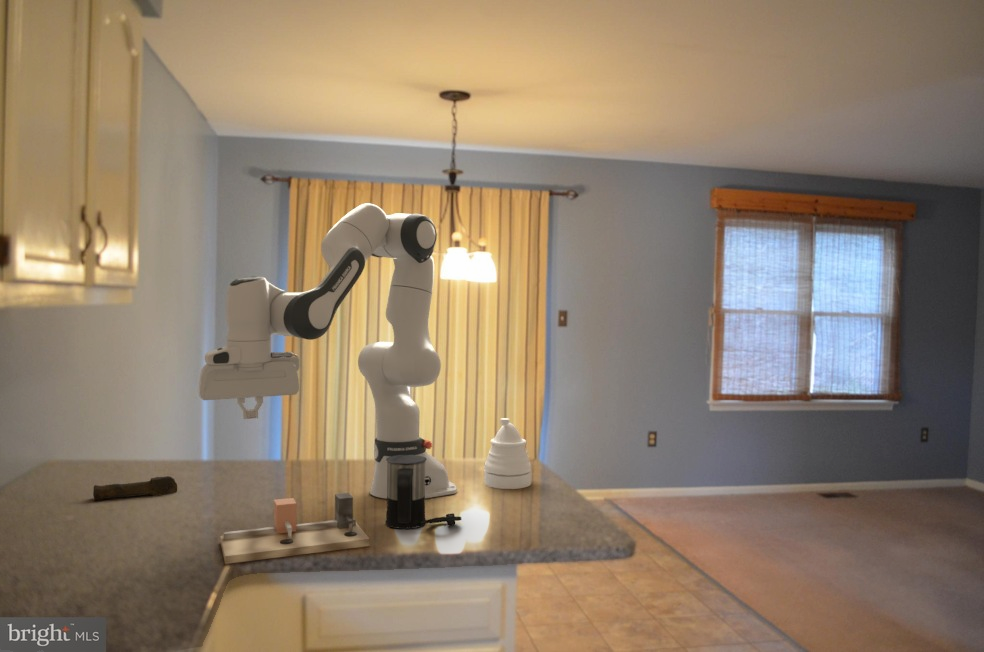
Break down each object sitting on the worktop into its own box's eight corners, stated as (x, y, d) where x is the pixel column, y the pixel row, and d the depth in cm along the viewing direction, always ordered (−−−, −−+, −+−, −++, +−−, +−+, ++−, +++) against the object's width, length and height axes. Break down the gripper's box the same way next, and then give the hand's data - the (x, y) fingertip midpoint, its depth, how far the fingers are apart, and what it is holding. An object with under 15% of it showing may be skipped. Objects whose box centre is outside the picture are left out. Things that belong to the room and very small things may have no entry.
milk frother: (381, 519, 173) (381, 455, 172) (446, 512, 179) (447, 450, 178) (396, 538, 160) (396, 469, 159) (466, 530, 165) (467, 464, 165)
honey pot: (516, 491, 199) (517, 423, 198) (475, 484, 205) (476, 418, 204) (539, 481, 209) (540, 417, 209) (499, 475, 216) (500, 412, 215)
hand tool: (92, 503, 184) (92, 484, 183) (94, 499, 187) (94, 480, 187) (176, 496, 191) (176, 478, 191) (176, 492, 195) (176, 474, 194)
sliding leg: (293, 526, 161) (293, 497, 161) (300, 539, 153) (300, 509, 152) (273, 528, 159) (273, 499, 159) (279, 541, 151) (279, 511, 151)
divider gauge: (354, 527, 167) (354, 491, 166) (369, 545, 155) (369, 507, 154) (220, 542, 156) (220, 504, 155) (225, 564, 144) (224, 522, 143)
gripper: (296, 350, 167) (297, 412, 167) (197, 354, 158) (198, 419, 159) (301, 352, 161) (302, 417, 162) (199, 356, 152) (200, 424, 153)
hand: (250, 418), depth 160 cm, fingers closed
